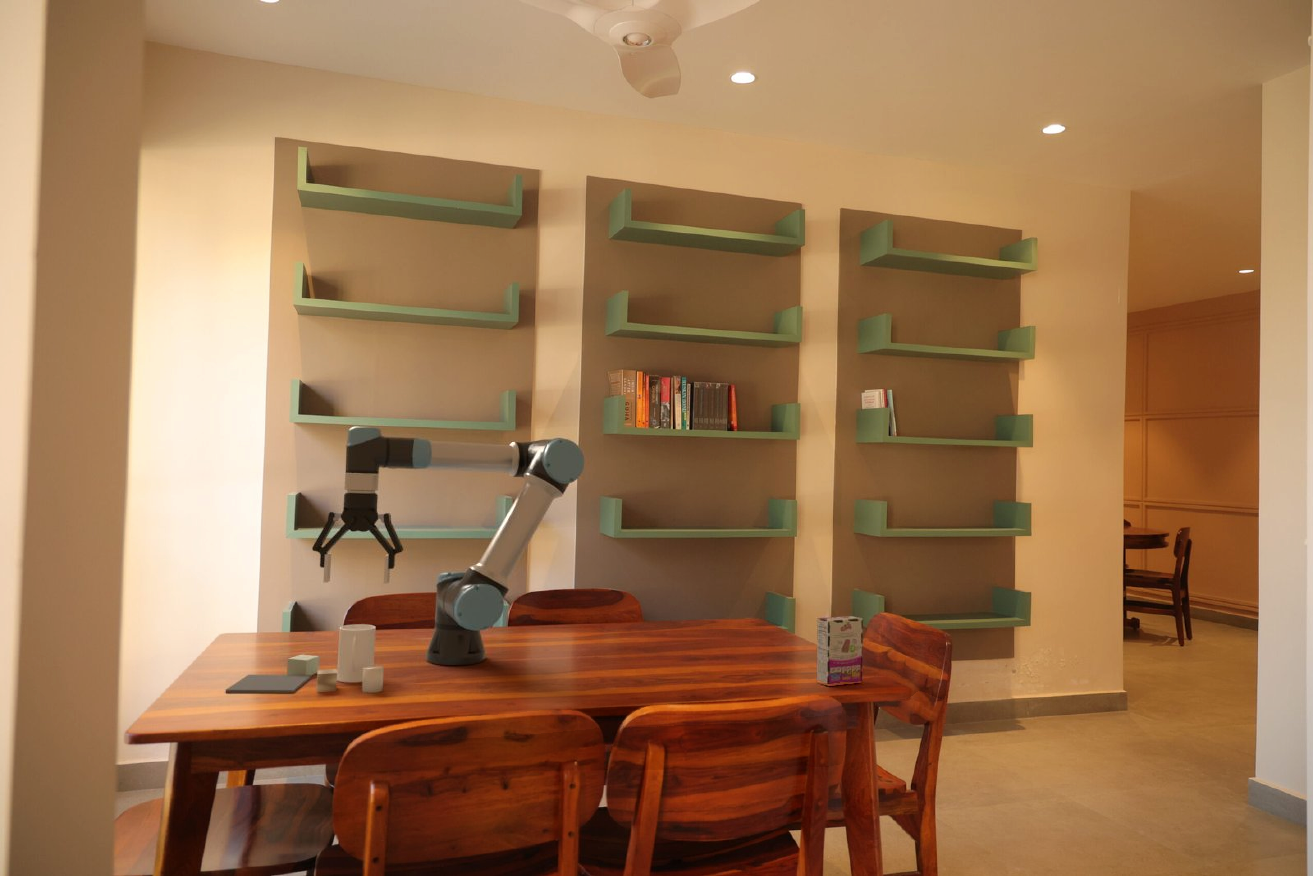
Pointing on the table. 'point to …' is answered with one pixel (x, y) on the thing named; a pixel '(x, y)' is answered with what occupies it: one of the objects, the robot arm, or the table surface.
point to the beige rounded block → (372, 679)
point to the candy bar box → (839, 649)
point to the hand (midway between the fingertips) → (356, 582)
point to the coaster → (269, 684)
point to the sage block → (303, 665)
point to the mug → (355, 651)
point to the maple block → (326, 680)
